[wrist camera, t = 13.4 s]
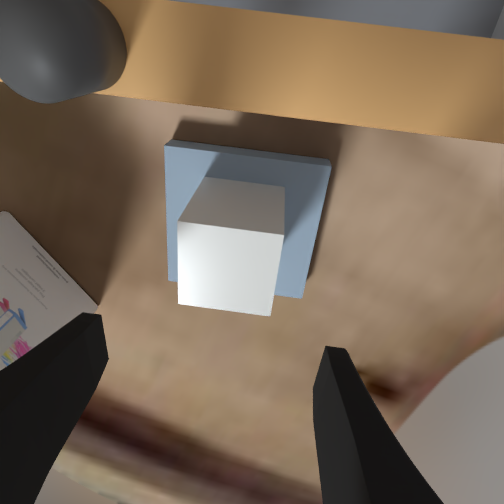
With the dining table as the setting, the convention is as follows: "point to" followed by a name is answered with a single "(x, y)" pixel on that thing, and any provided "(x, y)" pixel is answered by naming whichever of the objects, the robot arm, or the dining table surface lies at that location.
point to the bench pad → (255, 171)
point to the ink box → (32, 293)
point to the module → (231, 246)
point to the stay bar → (255, 64)
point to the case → (391, 13)
